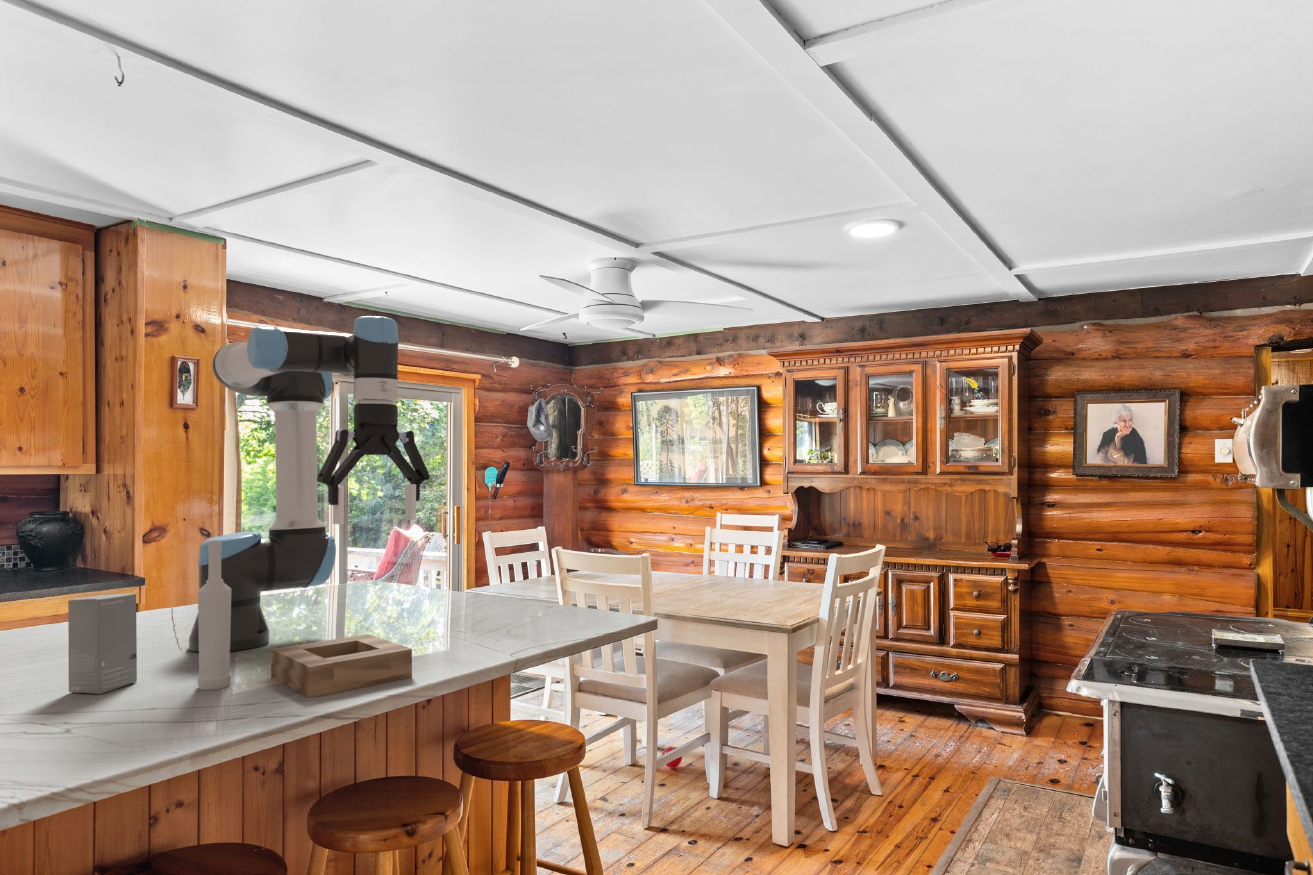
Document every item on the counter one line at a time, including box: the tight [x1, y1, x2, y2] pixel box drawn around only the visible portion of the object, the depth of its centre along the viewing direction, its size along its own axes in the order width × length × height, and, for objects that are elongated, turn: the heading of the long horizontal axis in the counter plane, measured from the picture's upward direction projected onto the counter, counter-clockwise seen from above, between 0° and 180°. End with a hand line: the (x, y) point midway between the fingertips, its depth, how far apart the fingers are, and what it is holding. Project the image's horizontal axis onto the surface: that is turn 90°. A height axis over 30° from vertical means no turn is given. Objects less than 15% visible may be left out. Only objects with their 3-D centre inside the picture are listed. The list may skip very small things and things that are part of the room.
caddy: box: [270, 633, 413, 699], centre depth 148 cm, size 18×18×5 cm
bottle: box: [197, 540, 232, 691], centre depth 143 cm, size 5×5×25 cm
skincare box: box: [67, 593, 138, 695], centre depth 143 cm, size 8×7×16 cm
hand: (375, 521), depth 149 cm, fingers open, 13 cm apart
